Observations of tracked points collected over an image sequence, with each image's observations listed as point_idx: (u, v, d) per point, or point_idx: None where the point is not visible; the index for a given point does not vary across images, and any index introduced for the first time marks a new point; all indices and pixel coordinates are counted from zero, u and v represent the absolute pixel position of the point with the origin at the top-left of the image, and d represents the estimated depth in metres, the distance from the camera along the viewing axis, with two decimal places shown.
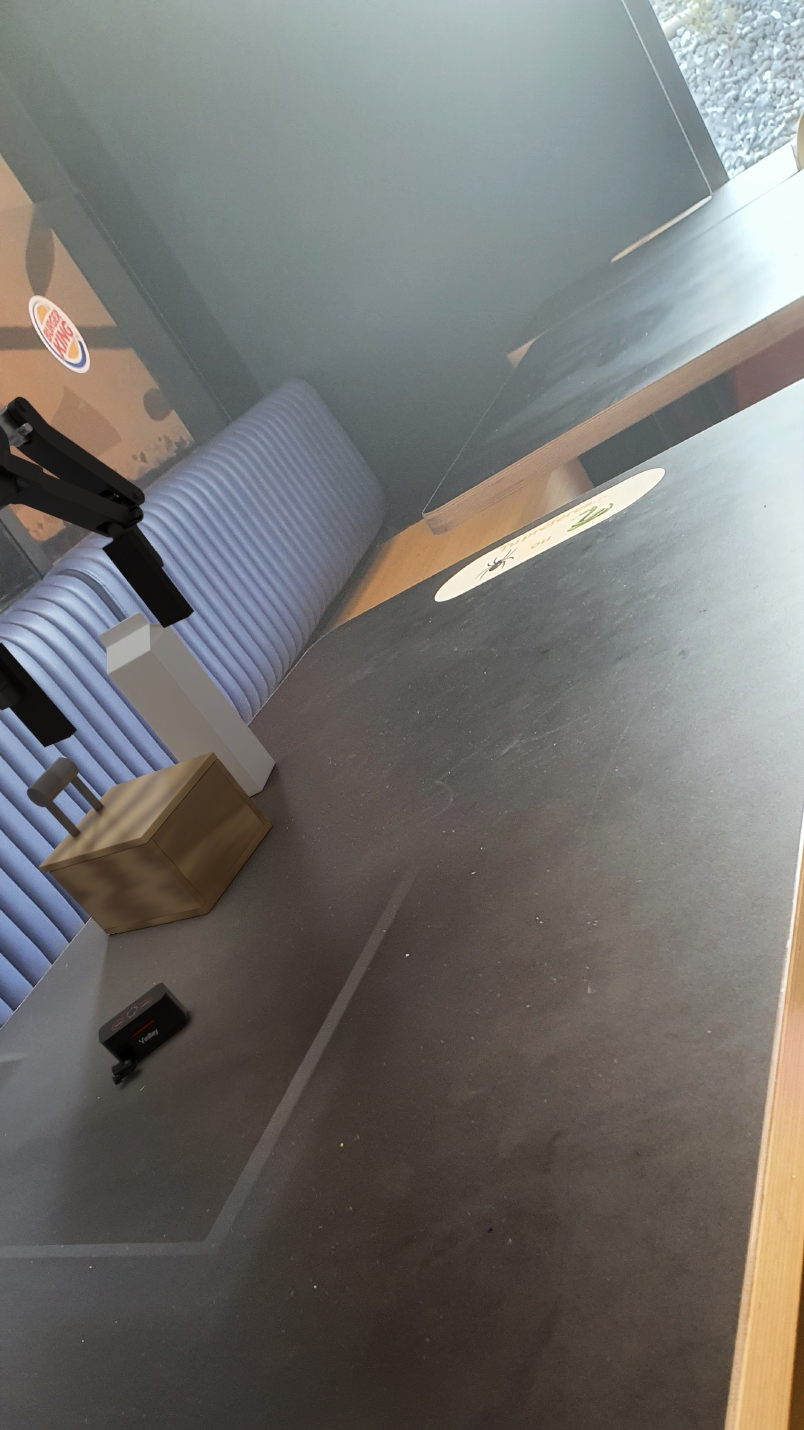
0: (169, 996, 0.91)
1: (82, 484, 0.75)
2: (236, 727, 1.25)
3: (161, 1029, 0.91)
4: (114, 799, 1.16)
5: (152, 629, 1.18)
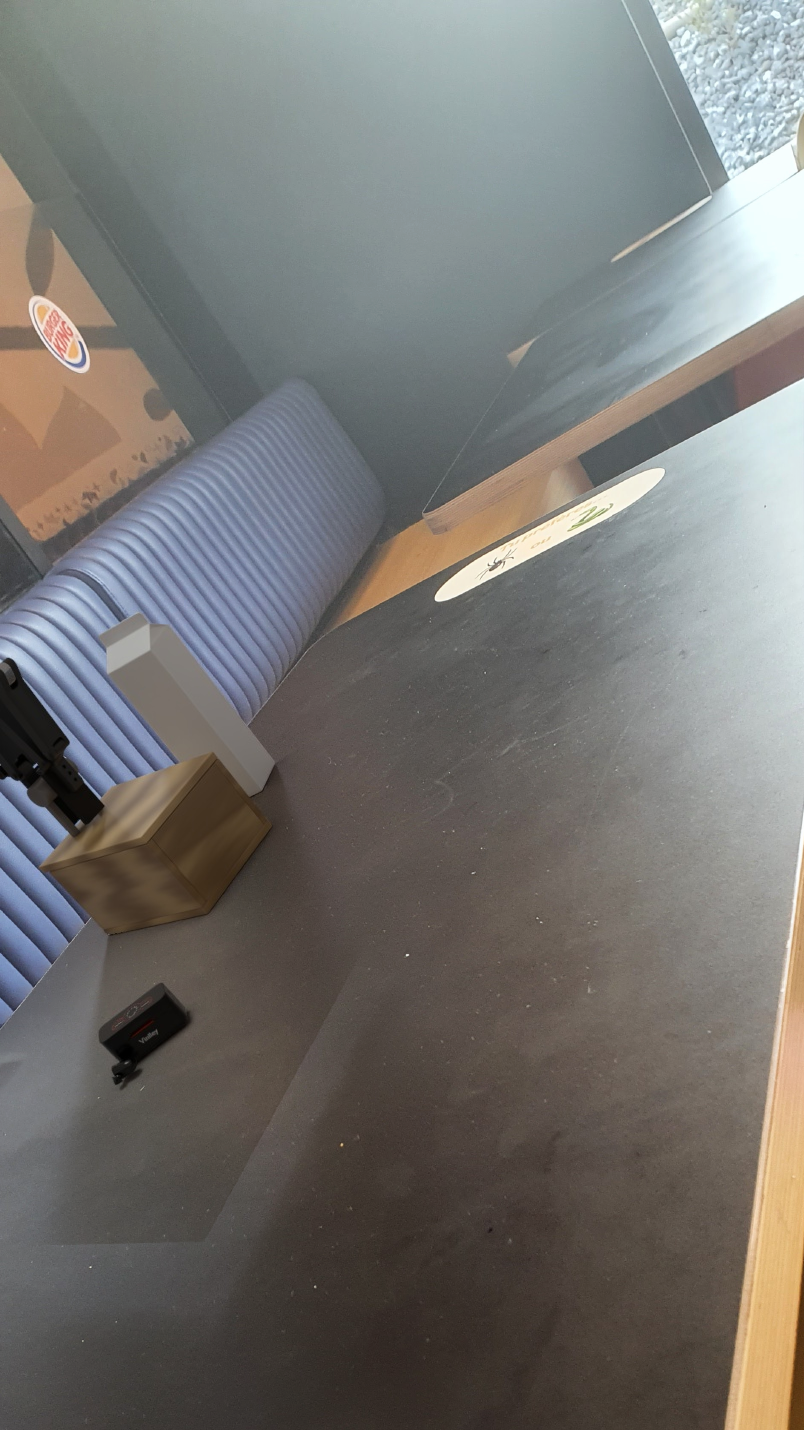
0: (169, 996, 0.91)
1: None
2: (236, 727, 1.25)
3: (161, 1029, 0.91)
4: (114, 799, 1.16)
5: (152, 630, 1.18)
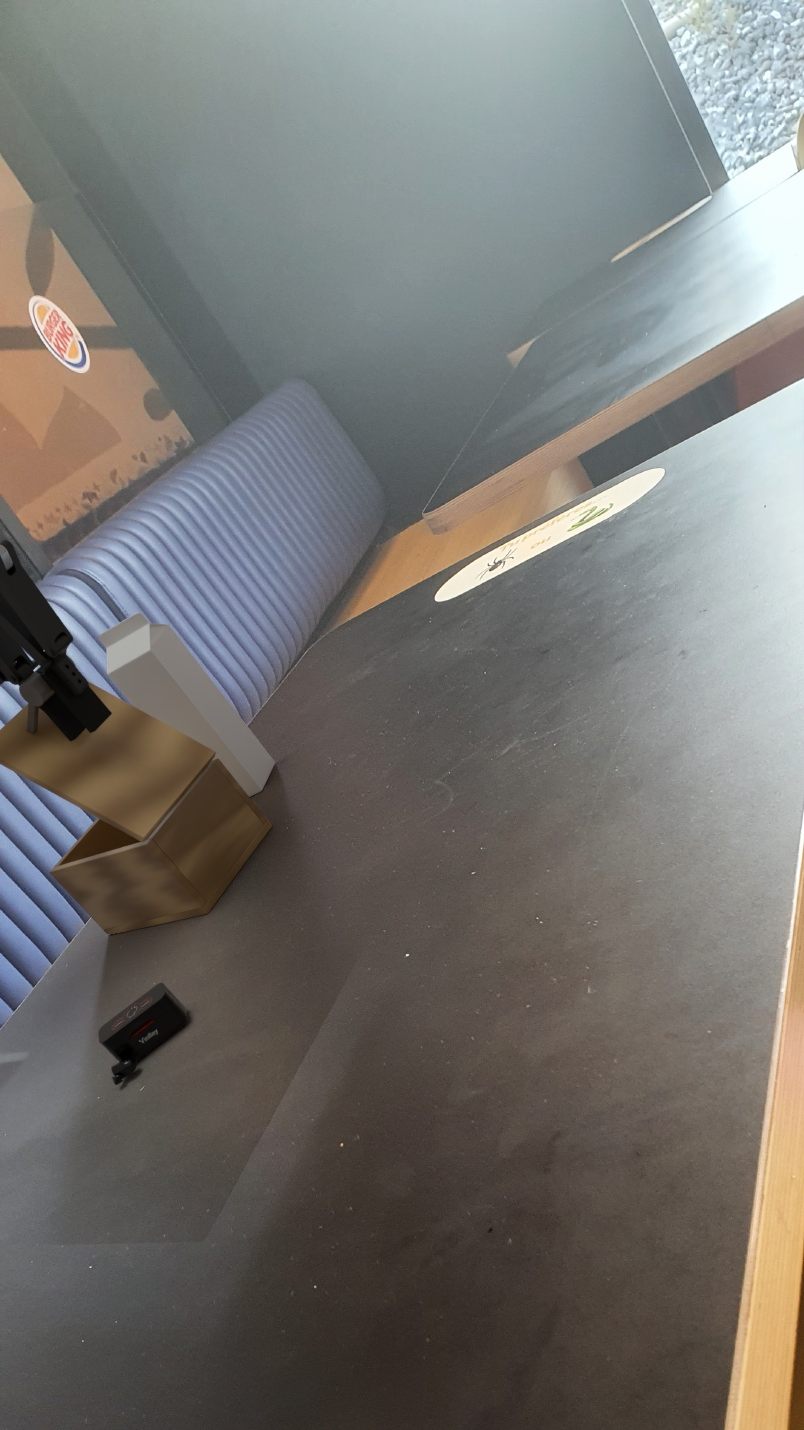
0: (169, 996, 0.91)
1: None
2: (236, 727, 1.25)
3: (161, 1029, 0.91)
4: None
5: (152, 630, 1.18)
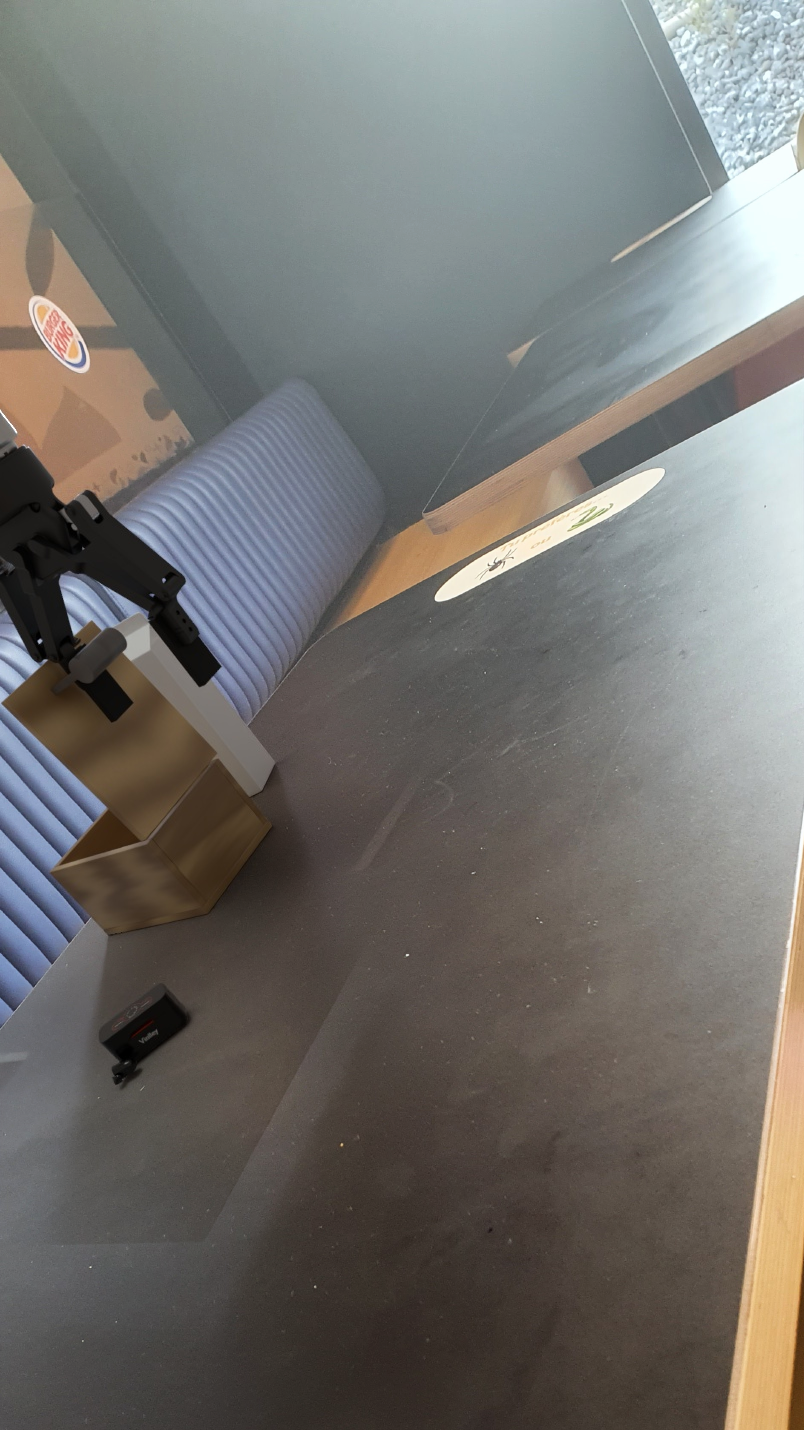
0: (169, 996, 0.91)
1: (31, 620, 0.97)
2: (236, 727, 1.25)
3: (161, 1029, 0.91)
4: None
5: (152, 630, 1.18)
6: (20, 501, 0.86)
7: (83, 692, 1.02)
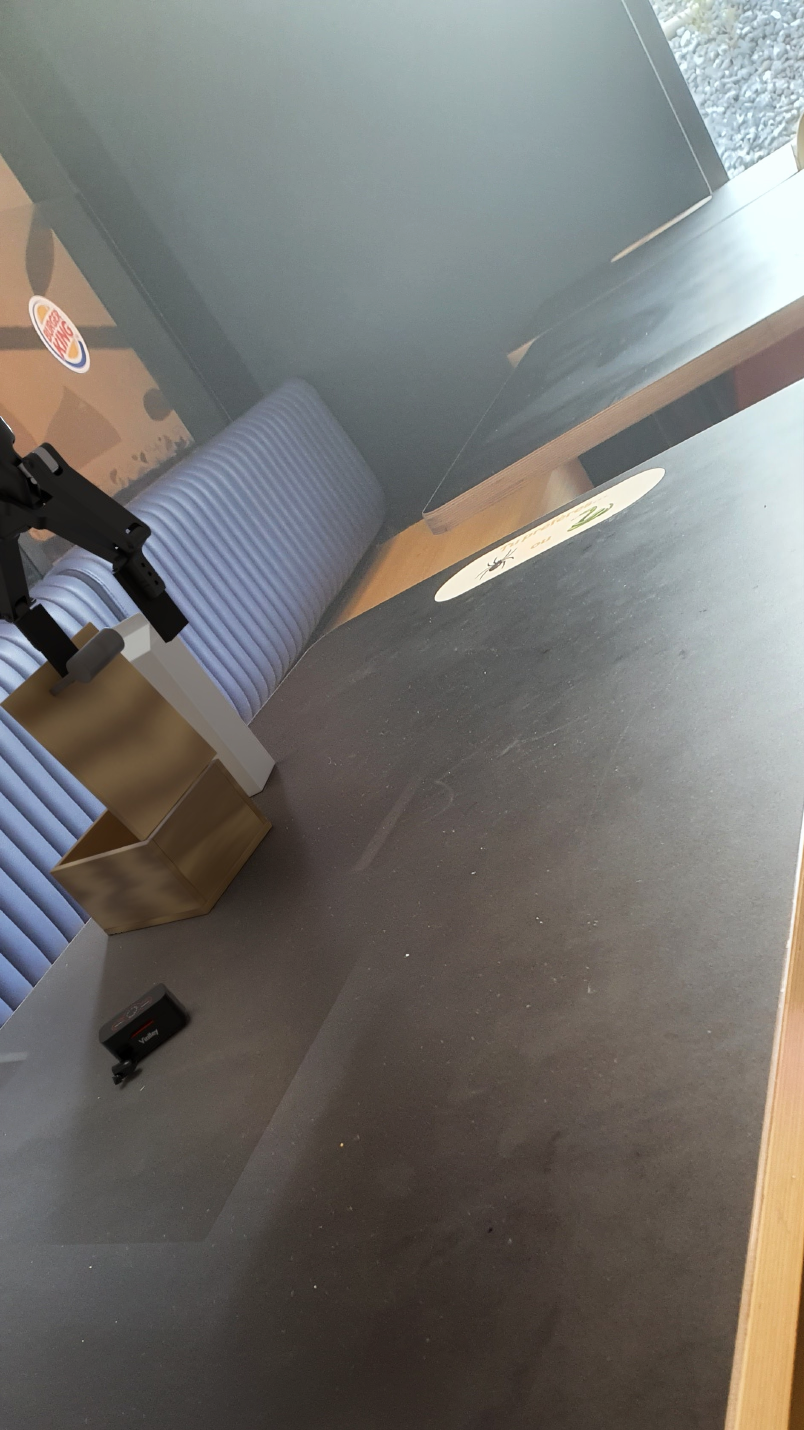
0: (169, 996, 0.91)
1: None
2: (236, 727, 1.25)
3: (161, 1029, 0.91)
4: (100, 673, 1.04)
5: (152, 630, 1.18)
6: None
7: (82, 693, 1.02)
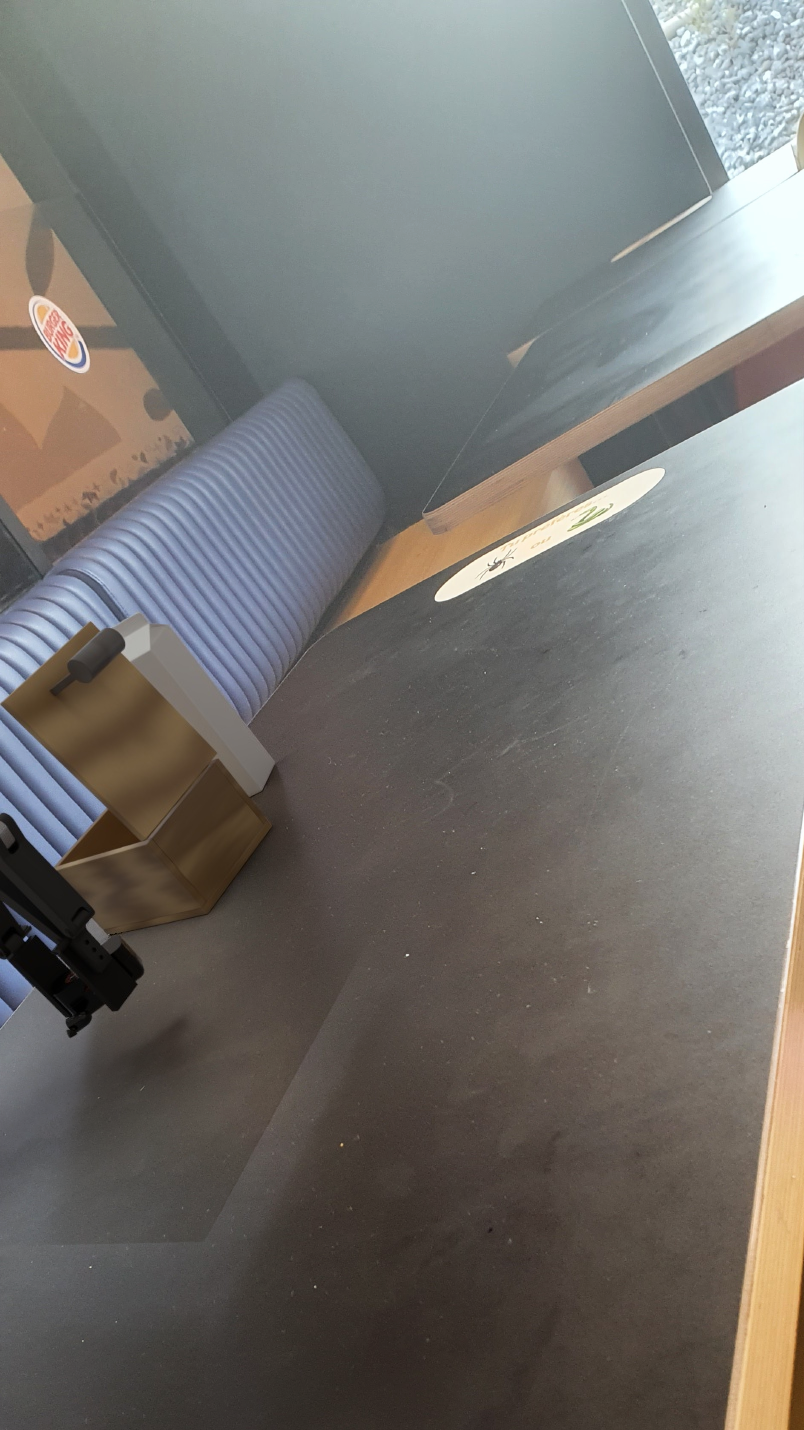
0: (125, 947, 0.89)
1: None
2: (236, 727, 1.25)
3: None
4: (100, 673, 1.04)
5: (152, 630, 1.18)
6: None
7: (82, 693, 1.02)
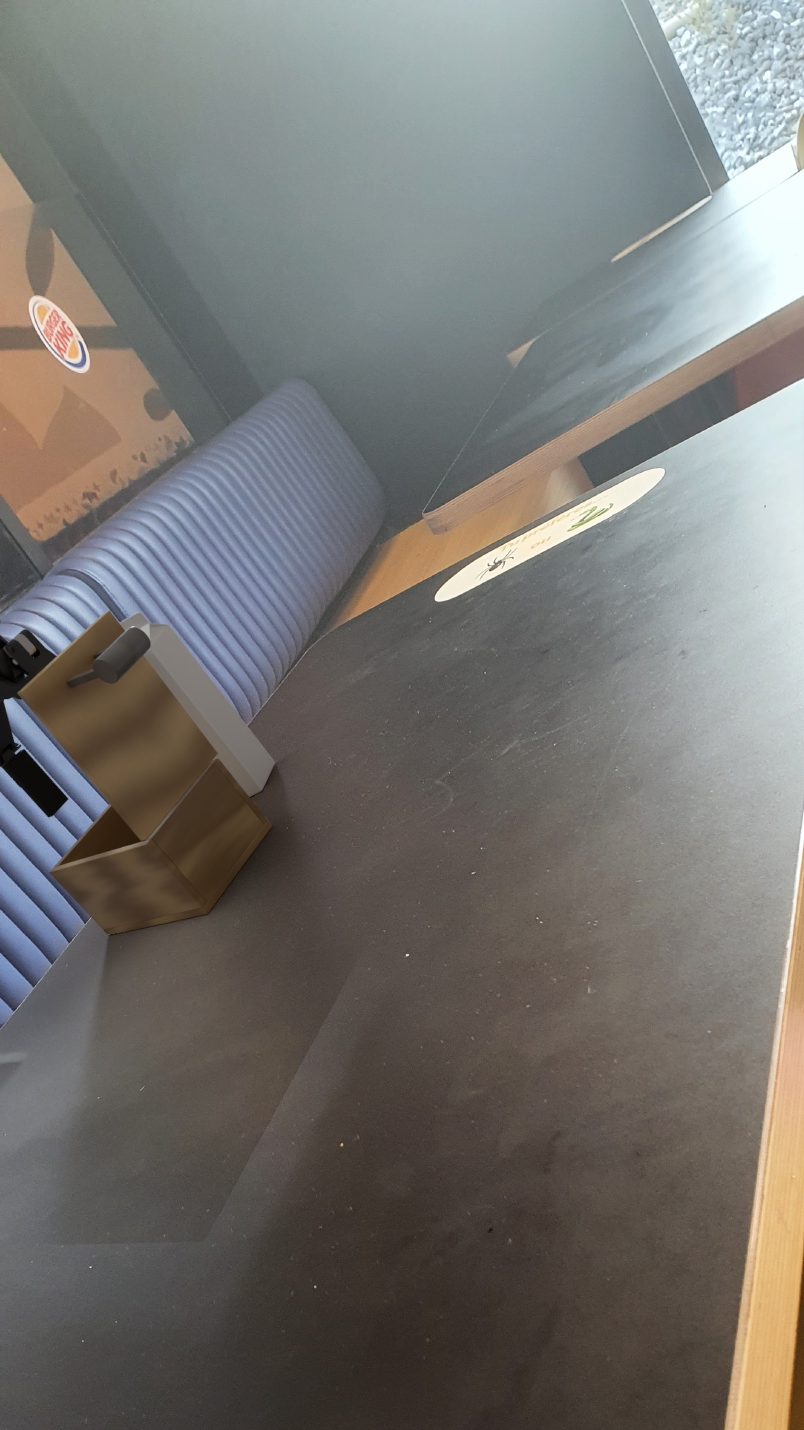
0: None
1: None
2: (236, 727, 1.25)
3: None
4: None
5: (152, 630, 1.18)
6: None
7: (97, 686, 1.00)
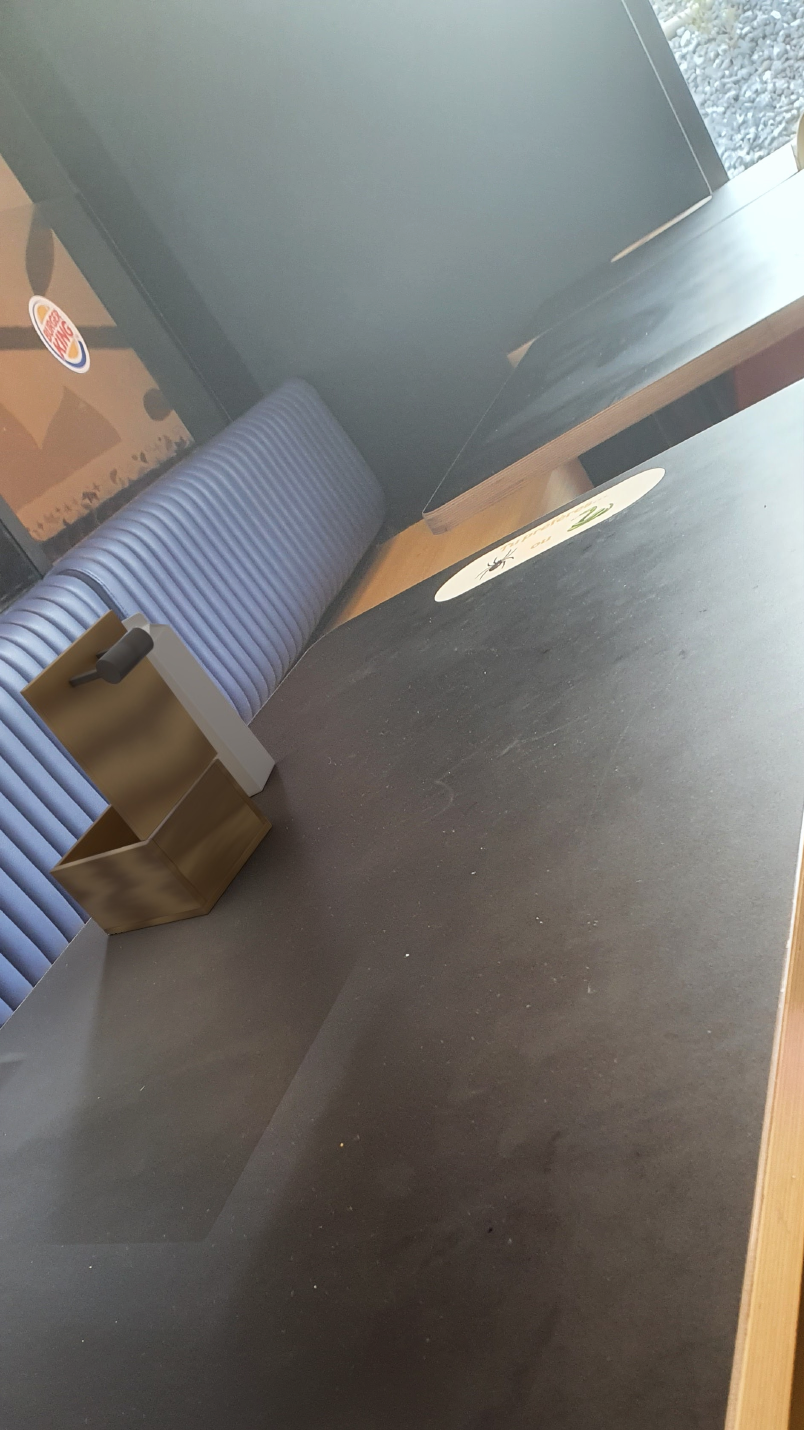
0: None
1: None
2: (236, 727, 1.25)
3: None
4: None
5: (152, 630, 1.18)
6: None
7: (99, 685, 1.00)
